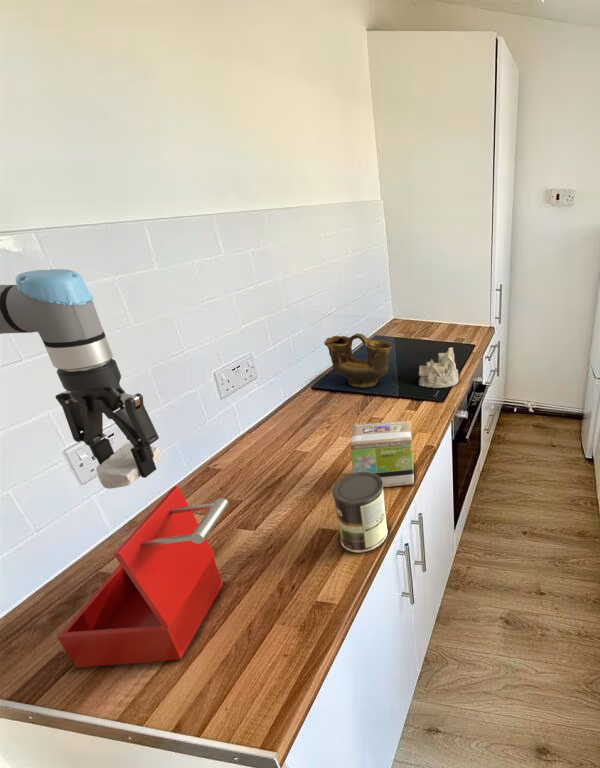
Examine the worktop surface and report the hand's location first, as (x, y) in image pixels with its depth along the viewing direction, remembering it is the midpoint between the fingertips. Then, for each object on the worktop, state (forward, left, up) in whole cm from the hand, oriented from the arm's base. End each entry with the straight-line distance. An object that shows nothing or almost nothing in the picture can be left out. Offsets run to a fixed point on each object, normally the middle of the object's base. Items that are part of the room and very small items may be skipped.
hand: (130, 471), depth 84 cm
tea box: (+39, +29, -20) cm, 53 cm away
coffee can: (+41, +8, -20) cm, 47 cm away
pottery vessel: (+12, +84, -20) cm, 87 cm away
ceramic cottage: (+41, +91, -20) cm, 102 cm away
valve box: (+12, -16, -20) cm, 29 cm away
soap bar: (0, 0, 0) cm, 0 cm away
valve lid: (+19, -15, -4) cm, 24 cm away
